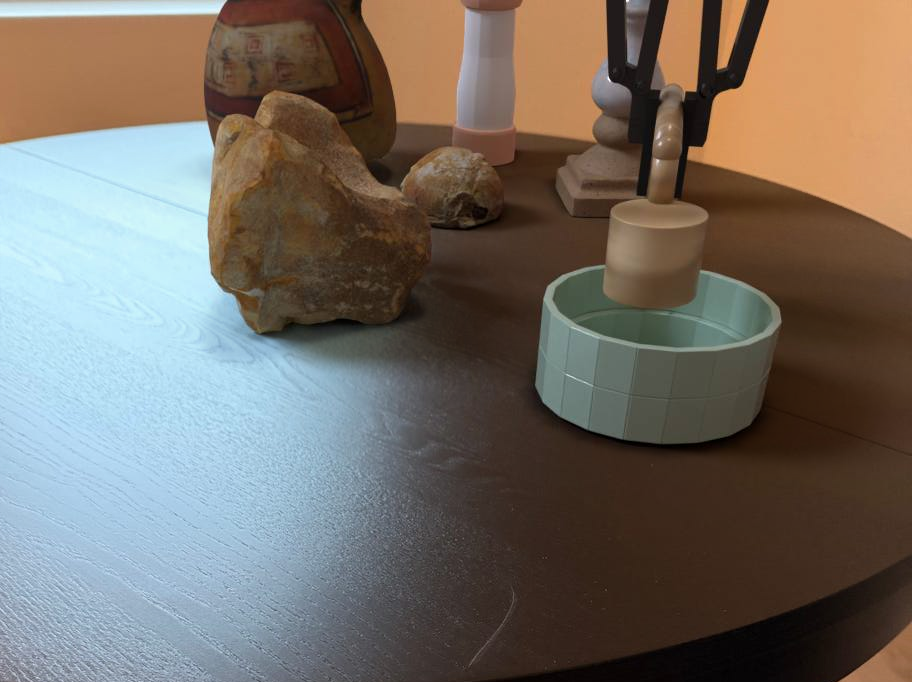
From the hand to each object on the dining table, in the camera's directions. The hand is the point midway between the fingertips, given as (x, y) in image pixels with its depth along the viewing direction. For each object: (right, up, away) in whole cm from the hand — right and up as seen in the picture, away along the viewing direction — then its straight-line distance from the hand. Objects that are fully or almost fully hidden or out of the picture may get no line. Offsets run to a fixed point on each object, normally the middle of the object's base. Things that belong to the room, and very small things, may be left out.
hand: (659, 191), depth 76 cm
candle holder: (+2, +13, +32) cm, 35 cm away
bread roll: (-15, +10, +28) cm, 33 cm away
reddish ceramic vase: (-31, +18, +38) cm, 52 cm away
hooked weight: (-1, -6, -3) cm, 6 cm away
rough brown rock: (-25, -6, +8) cm, 27 cm away
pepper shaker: (-11, +23, +44) cm, 51 cm away
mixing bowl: (-2, -17, -4) cm, 17 cm away
